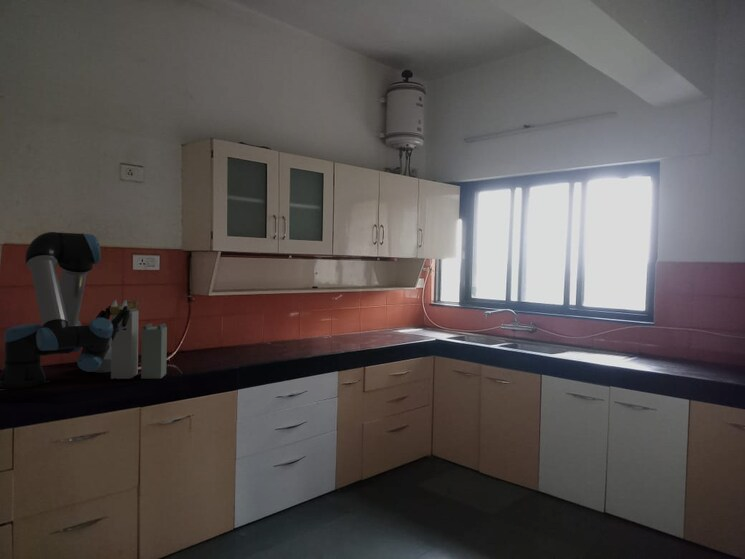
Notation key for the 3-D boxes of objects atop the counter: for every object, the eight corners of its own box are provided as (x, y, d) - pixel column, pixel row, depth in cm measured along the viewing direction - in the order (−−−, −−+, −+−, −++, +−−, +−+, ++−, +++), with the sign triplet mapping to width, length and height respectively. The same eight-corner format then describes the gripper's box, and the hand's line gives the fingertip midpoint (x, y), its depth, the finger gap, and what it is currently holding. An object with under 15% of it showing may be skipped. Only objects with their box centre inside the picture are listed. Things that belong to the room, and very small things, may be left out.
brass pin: (108, 316, 201) (108, 305, 201) (127, 310, 223) (127, 300, 223) (120, 316, 201) (120, 305, 201) (137, 310, 224) (137, 300, 224)
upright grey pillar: (141, 378, 212) (141, 325, 211) (147, 373, 221) (148, 323, 220) (160, 378, 213) (161, 326, 213) (166, 373, 222) (167, 323, 222)
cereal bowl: (119, 365, 236) (119, 350, 236) (129, 372, 223) (130, 356, 223) (78, 369, 225) (78, 354, 224) (86, 377, 212) (87, 360, 212)
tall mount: (110, 378, 210) (111, 309, 209) (118, 373, 219) (119, 307, 218) (131, 378, 212) (132, 309, 211) (137, 373, 220) (138, 307, 219)
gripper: (80, 345, 190) (101, 309, 209) (126, 346, 192) (142, 310, 212) (76, 330, 186) (98, 294, 205) (123, 330, 188) (140, 295, 208)
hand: (120, 302), depth 209 cm, fingers closed on brass pin, 3 cm apart
